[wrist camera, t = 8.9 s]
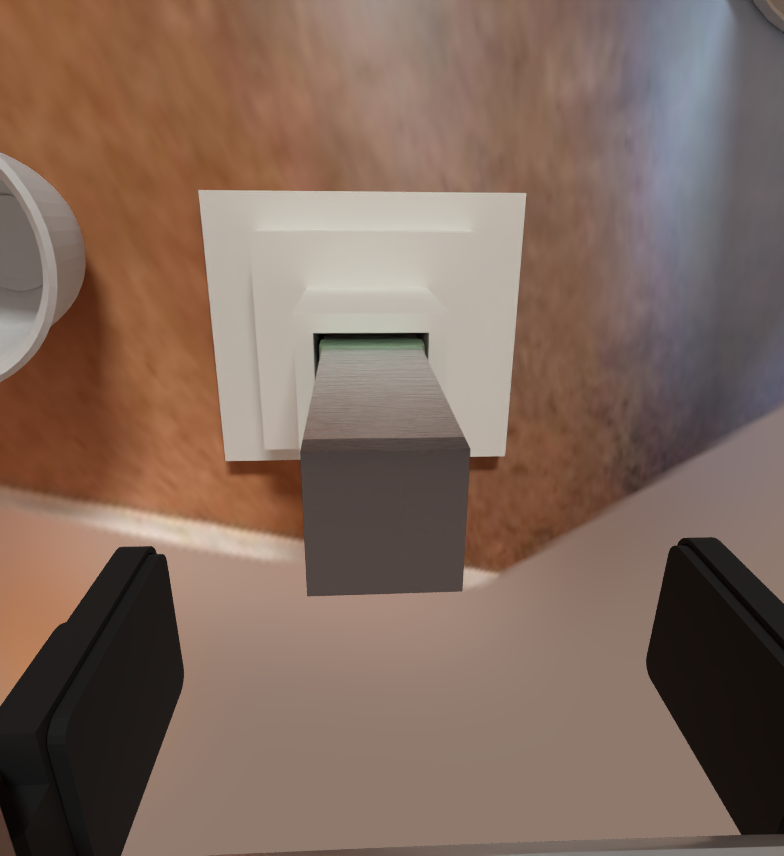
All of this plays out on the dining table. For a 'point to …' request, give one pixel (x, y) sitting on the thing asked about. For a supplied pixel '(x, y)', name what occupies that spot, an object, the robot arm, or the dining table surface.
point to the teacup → (34, 262)
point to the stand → (358, 300)
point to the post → (382, 471)
